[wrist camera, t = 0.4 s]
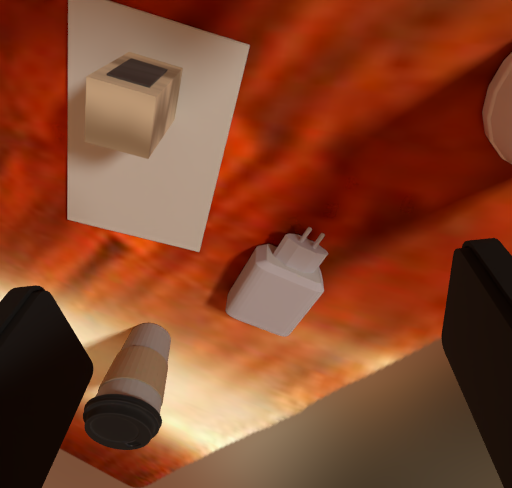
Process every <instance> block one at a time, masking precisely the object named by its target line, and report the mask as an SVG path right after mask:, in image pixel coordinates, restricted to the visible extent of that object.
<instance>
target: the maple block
mask: <svg viewBox="0 0 512 488" xmlns="http://www.w3.org/2000/svg"><path fill="white" fill-rule="evenodd" d="M182 71H183V68H181V67H178V66H175V65H171V64H168V63H165V62H161V61H158V60H155V59H152V58H148V57H145V56H142V55H138V54H135V53H132V52H128V53H126V54H124V55H123V56H121V57H119V58H117V59H116V60H114V61H112V62H111V63H109V64H107V65H105V66H104V67H102V68H100V69H98V70H97V71H95V72H93V73H91V74H90V75H88V76H86V106H85V141H84V142H87V143H91V144H95V145H98V146H102V147H106V148H109V149H113V150H117V151H120V152H124V153H128V154H131V155H135V156H139V157H142V158H146V159H149V157H150V156H151V154H152V153H153V151H154V150H155V148H156V147H157V145H158V144H159V142H160V141H161V139H162V138H163V136H164V135H165V133H166V132H167V130H168V129H169V127H170V126H171V124H172V123H173V121H174V120H175V114H176V108H177V102H178V96H179V89H180V83H181V77H182Z"/></svg>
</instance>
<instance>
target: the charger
mask: <svg viewBox="0 0 512 488" xmlns="http://www.w3.org/2000/svg"><path fill="white" fill-rule="evenodd" d="M311 230H312V228H311V227H308V228H307V230H306V231H305V232H304V234H303V235H302V236H300V235H297V234H286V235H285V236H284V238H283V239H282V241H281V243H280V244H279V246H278V247H276V246H274V245H271V244H265V245H260V246H257V247H256V249H255V250H254V252H253V254H252V255H251V257H250V259H249V260H248V262H247V263H246V265H245V267H244V268H243V270H242V272H241V273H240V275H239V277H238V278H237V280H236V282H235V283H234V285H233V286H232V288H231V290H230V291H229V293H228V296H227V303H226V313H227V314H228V315H230V316H231V317H233V318H235V319H237V320H240V321H242V322H245V323H248V324H250V325H253V326H256V327H258V328H261V329H263V330H266V331H269V332H271V333H274V334H277V335H280V336H289V335H290V333H291V332H292V331H293V330H294V328H295V327H296V326H297V324H298V323H299V322H300V321H301V319H302V318H303V317H304V316H305V314H306V313H307V312H308V311H309V309H310V308H311V307H312V306H313V304H314V303H315V302H316V301H317V299H318V298H319V297H320V296H321V294H322V293H323V292H324V287H323V280H322V274H321V271H320V268H319V265H320V264H321V263H322V261H323V260H324V259H325V257H326V256H327V255H328V252H327V251H326V250H325V249H324V248H322V247H321V246H320V245H319V243H320V242H321V240H322V239H323V238H324V236H325V234H324V233H321V234H320V235H319V237H318V238H317V240H316V241H315V242H314V241H311V240H309V239H307V238H306V237H307V236H308V235H309V233H310V232H311Z"/></svg>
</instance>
